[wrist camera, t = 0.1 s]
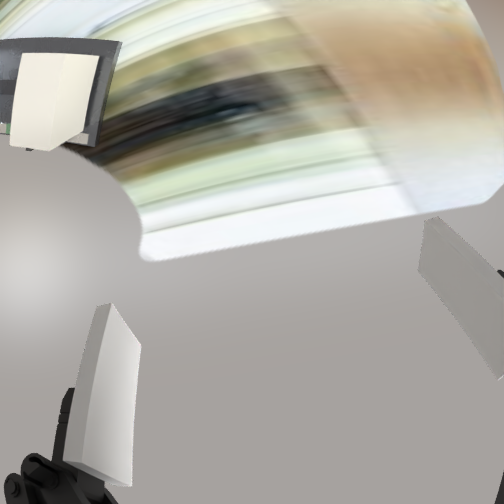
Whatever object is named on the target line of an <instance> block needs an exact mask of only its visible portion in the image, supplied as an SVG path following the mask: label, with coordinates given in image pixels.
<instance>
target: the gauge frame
mask: <svg viewBox="0 0 504 504" xmlns="http://www.w3.org/2000/svg"><path fill="white" fill-rule="evenodd" d="M121 45H122V42H119V41H110V40H99V39H85V38H58V37H44V38H17V39H4V40H0V134H6V135H10V129H11V119H12V110H13V102H14V95H15V89H16V83H17V77H18V72H19V67H20V62H21V58H22V53H66V54H82V55H94V56H99V59H98V63H97V67H96V71H95V75H94V79H93V83H92V87H91V92H90V97H89V101H88V106H87V111H86V117H85V123H84V128H83V131H82V132H80V133H79V134H77V135H75V136H74V137H72V138H70V139H69V140H67V141H65V142H68V143H74V144H80V145H86V146H92V147H95V146H96V145H98V143H99V137H100V132H101V126H102V121H103V116H104V111H105V106H106V102H107V97H108V93H109V89H110V85H111V81H112V77H113V73H114V69H115V66H116V62H117V59H118V55H119V52H120V49H121Z"/></svg>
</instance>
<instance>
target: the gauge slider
mask: <svg viewBox="0 0 504 504" xmlns="http://www.w3.org/2000/svg"><path fill="white" fill-rule="evenodd" d="M98 59H99V56H94V55H82V54H66V53H22V58H21V62H20V67H19V72H18V77H17V83H16V89H15V95H14V102H13V110H12V119H11V129H10V143H9V145H10V146H16V147H23V148H26V150H27V151H32V150H33V149H37V150H44V151H51V150H52V149H54V148H55V147H57V146H59V145H63V144H64V143H65V141H67V140H69V139H70V138H72V137H74V136H75V135H77V134H79V133H80V132H82V131H83V128H84V123H85V117H86V111H87V106H88V101H89V97H90V92H91V87H92V83H93V79H94V75H95V71H96V67H97V63H98Z"/></svg>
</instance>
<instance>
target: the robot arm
mask: <svg viewBox="0 0 504 504" xmlns="http://www.w3.org/2000/svg"><path fill="white" fill-rule="evenodd" d="M418 272H419V273H420V274H421V275H422V277H423V278H424V279H425V280H426V282H427V283H428V284H429V285H430V286H431V288H432V289H433V290H434V291H435V293H436V294H437V295H438V297H439V298H440V299H441V300H442V302H443V303H444V304H445V306H446V307H447V308H448V310H449V311H450V312H451V314H452V315H453V316H454V317H455V319H456V320H457V321H458V323H459V324H460V326H461V327H462V328H463V330H464V331H465V332H466V334H467V335H468V337H469V338H470V340H471V341H472V343H473V344H474V345H475V347H476V348H477V350H478V351H479V353H480V354H481V356H482V357H483V359H484V360H485V362H486V363H487V365H488V367H489V368H490V370H491V371H492V373H493V374H494V376H495V378H496V379H497V380H499V379H500V378H502V377H504V272H503V271H502V270H498V271H496V270H495V269H494V268H493V267H492V266H491V265H490V264H489V263H488V262H487V261H486V260H485V259H484V258H483V257H482V256H481V255H480V254H479V253H478V252H477V251H476V250H475V249H474V248H473V247H471V246H470V245H469V244H468V243H467V242H466V241H465V240H464V239H463V238H462V237H461V236H460V235H458V234H457V233H456V232H455V231H454V230H453V229H452V228H451V227H449V226H448V225H447V224H446V223H445V222H444V221H443V220H441V219H440V218H439V217H435V218H432V219H428V220H425V223H424V231H423V240H422V247H421V254H420V261H419V267H418ZM140 352H141V344H140V343H139V341H138V340H137V339H136V337H135V336H134V335H133V333H132V332H131V330H130V329H129V327H128V326H127V325H126V323H125V322H124V320H123V319H122V317H121V316H120V314H119V313H118V311H117V310H116V308H115V307H114V305H113V304H112V303H109V304H105V305H101V306H97V308H96V311H95V314H94V317H93V321H92V324H91V328H90V331H89V335H88V338H87V341H86V345H85V349H84V353H83V357H82V360H81V365H80V368H79V373H78V377H77V381H76V386H75V388H69V389H68V391H67V393H66V394H65V396H64V398H63V400H62V405H61V409H60V413H61V414H60V415H59V420H58V422H59V424H58V425H57V430H56V436H55V442H54V449H53V456H52V461H50V460H48V459H46V458H44V457H43V456H41V455H39V454H38V453H31V454H30V455H28V456H26V458H25V459H24V460H23V463H22V465H21V476H20V475H18V474H16V473H12V474H10V475H8V476H7V478H6V480H5V483H4V493H5V498H6V503H7V504H118V503H117V501H116V500H115V499H114V497H113V496H112V495H111V493H110V492H109V491H108V490H107V489H106V488H105V487H104V482H107V483H109V484H111V485H114V486H130V487H132V457H133V432H134V415H135V402H136V390H137V379H138V369H139V360H140ZM495 504H504V472H503V477H502V480H501V484H500V487H499V491H498V494H497V498H496V501H495Z"/></svg>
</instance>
